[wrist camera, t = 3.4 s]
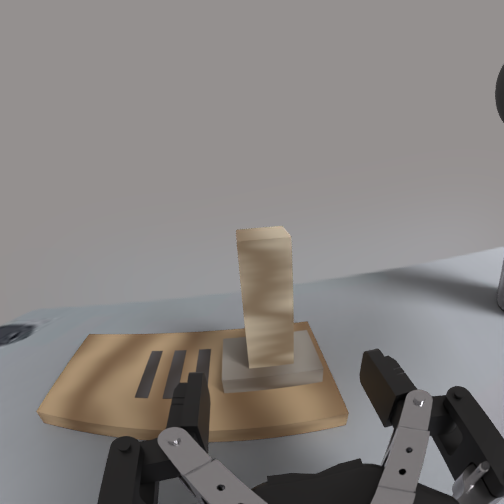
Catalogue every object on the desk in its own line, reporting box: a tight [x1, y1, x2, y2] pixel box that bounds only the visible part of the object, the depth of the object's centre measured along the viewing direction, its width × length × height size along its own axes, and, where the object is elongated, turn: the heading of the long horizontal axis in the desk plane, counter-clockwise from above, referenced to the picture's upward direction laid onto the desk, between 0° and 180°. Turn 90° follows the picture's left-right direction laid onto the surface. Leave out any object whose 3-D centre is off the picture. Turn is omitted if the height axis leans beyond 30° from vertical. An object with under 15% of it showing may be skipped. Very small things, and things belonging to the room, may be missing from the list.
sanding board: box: [36, 322, 348, 442], centre depth 24 cm, size 26×14×2 cm, turn 94°
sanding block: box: [222, 226, 324, 393], centre depth 23 cm, size 8×6×12 cm
